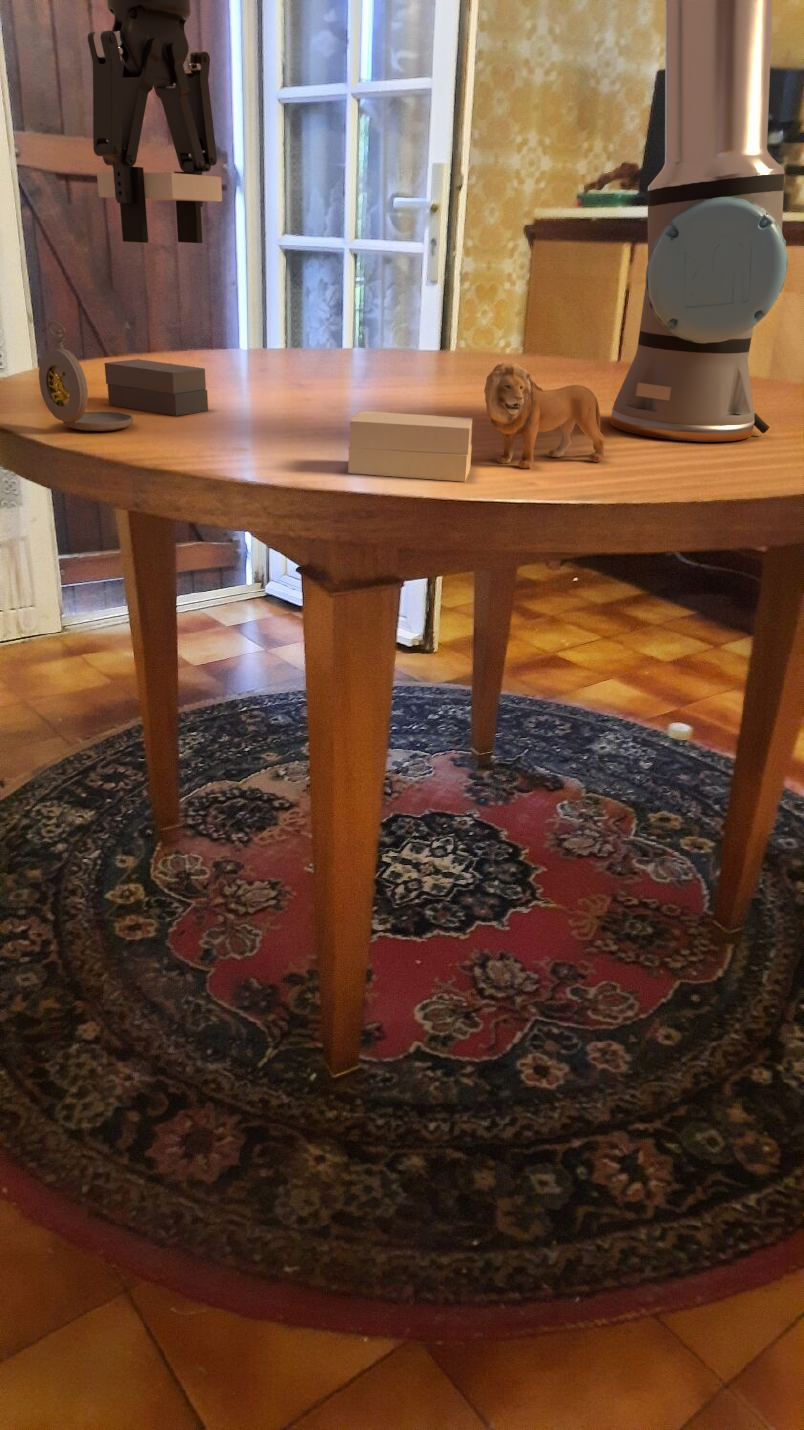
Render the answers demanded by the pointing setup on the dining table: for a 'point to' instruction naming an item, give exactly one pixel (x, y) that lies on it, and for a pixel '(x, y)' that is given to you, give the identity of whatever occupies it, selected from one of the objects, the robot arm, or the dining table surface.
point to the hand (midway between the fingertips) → (163, 242)
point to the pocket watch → (72, 391)
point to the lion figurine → (539, 412)
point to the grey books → (156, 387)
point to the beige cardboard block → (410, 446)
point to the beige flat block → (169, 186)
